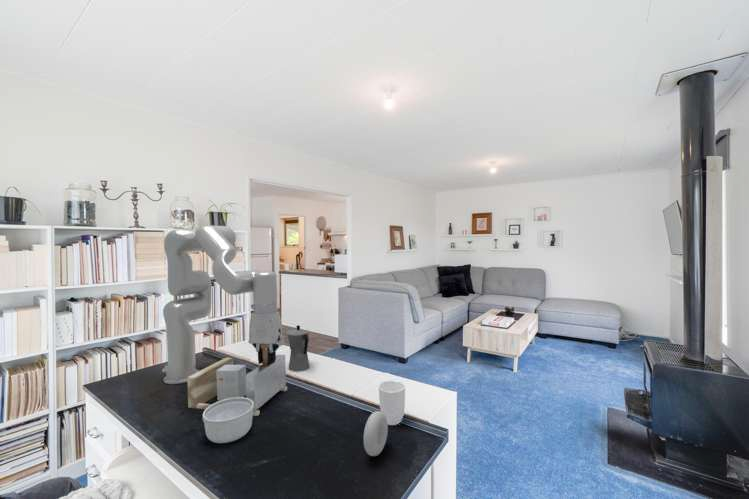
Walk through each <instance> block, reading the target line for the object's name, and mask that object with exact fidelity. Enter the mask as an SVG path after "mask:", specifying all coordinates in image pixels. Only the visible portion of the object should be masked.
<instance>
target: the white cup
mask: <svg viewBox="0 0 749 499" xmlns="http://www.w3.org/2000/svg"><path fill="white" fill-rule="evenodd" d="M378 397H379V399H378V400H379V408H380V412H382V413H383V414H384V415H385V416H386V419H387V424H388V426H398V425H400V424H399V423H400V421H401V419H402V418H403V416H404V415H405V407H406V406H405V405H406V403H405V402H406V385H405V384H404V383H403V382H401V381H398V380H386V381H382V382H381V383H380V384H379V385H378ZM404 417H405V416H404ZM397 424H398V425H397Z"/></svg>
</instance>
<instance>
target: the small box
mask: <svg viewBox="0 0 749 499" xmlns="http://www.w3.org/2000/svg"><path fill="white" fill-rule="evenodd" d="M246 374H247V365H246V364H234V365H224V366H222V367H221V368H219V369H218V370H217V371H216V377H217V395H216V396H217V398H216V399H217V402H218V401H221V400H224V399H228V398H234V397H244V398H245V397H246Z"/></svg>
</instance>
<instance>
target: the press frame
mask: <svg viewBox="0 0 749 499" xmlns="http://www.w3.org/2000/svg"><path fill="white" fill-rule="evenodd" d="M224 365H235V364H234V357H225V358H222V359H221V360H219V361H216V362H214V363H213V364H211V365H209V366H206V367H205V368H202V369H201V370H199V372H197V373H195V374H193V375H191V376H189V377H187V381H188V382H187V402H188V403H187V404H188V408H190V409H199V410H205V409H206V408H208V407H209V406H210V405H212V404H213V403H212V404H211V403H207V402H209V401H210V400H212V399H213V398H215V397H216V396H217V377H216V371H217V370H218V369H219V368H221V367H222V366H224ZM287 390H288V386H284V387H283V388H282V389H281V390H280V391H279V392H286V391H287ZM260 412H261V411H260V409H257V410H256V411H253V417H256V416H257V417H258V416H259V415H260Z"/></svg>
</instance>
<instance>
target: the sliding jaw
mask: <svg viewBox="0 0 749 499" xmlns="http://www.w3.org/2000/svg"><path fill="white" fill-rule="evenodd" d="M260 347H261V349H262V363H261V364H260V365H259V366H258V367H256V368H254V369H253V370H252V371H249V372H248V373H246V395H245V398H248V399H251V400H252V401H253V403H254V410H253V411H256V410H259V409H260V408H261V407H262V406H263V405H264V404H265V403H267V402H268V401H269V400H271V398H273V396H275V395H277V393H279V392H281V391H280V390H281V389H282V388H283V387H284V386H286V385H287V375H286V374H287V372H286V367H287V366H286V354H277V355H276V360H275V362H274V363H273V364H271V365H269V364H268V353H269V352H270V350H269V344H260Z"/></svg>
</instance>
